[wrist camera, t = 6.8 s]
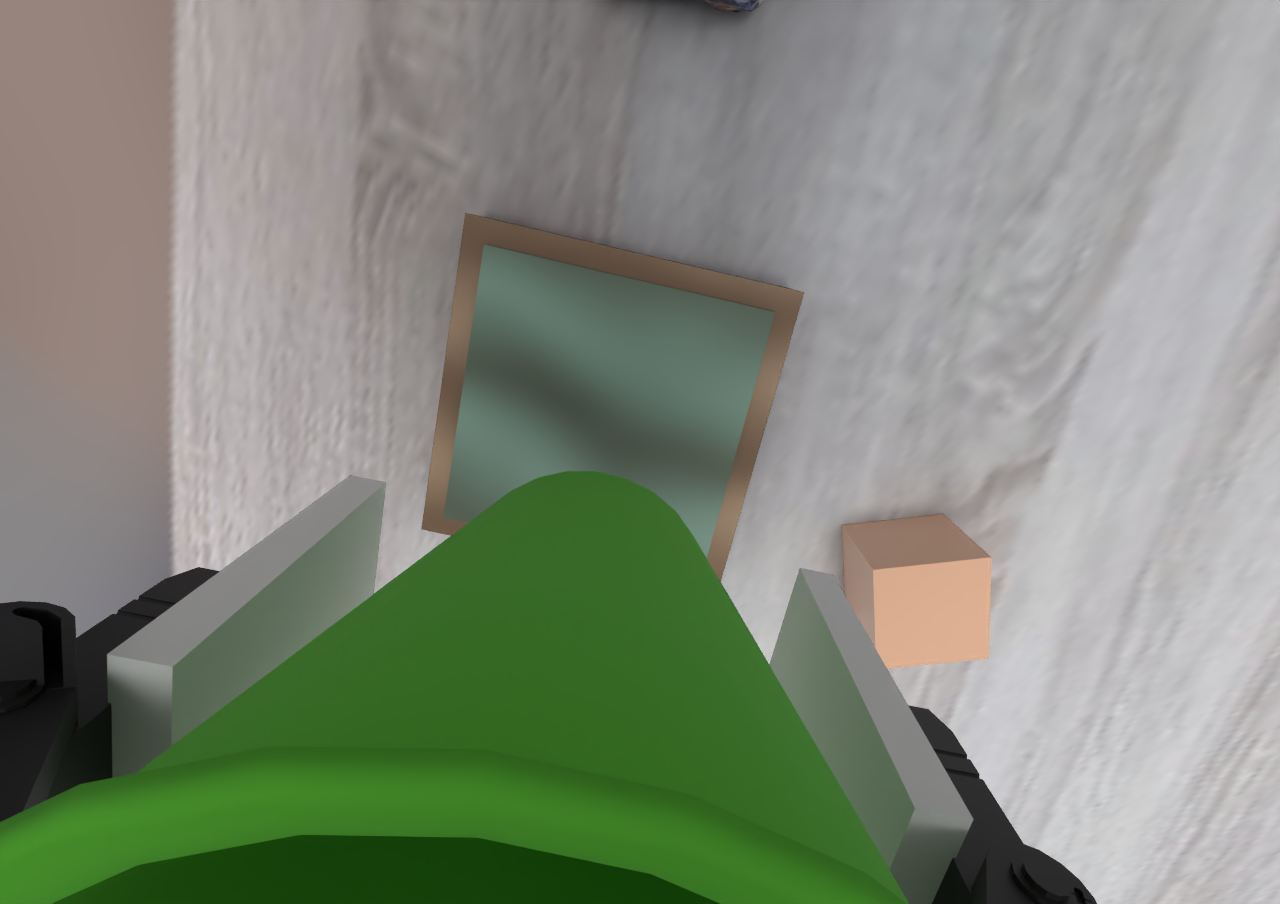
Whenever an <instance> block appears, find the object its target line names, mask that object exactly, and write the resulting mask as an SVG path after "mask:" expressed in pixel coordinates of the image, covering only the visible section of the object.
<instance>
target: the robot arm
mask: <svg viewBox="0 0 1280 904" xmlns="http://www.w3.org/2000/svg"><path fill="white" fill-rule="evenodd" d="M385 489H386V482H381V481H376V480H371V479H366V478H361V477H357V476H352V475H350V476H349V477H348V478H346V479H345V480H343V481H342V482H341V483H339V484H338V485H337V486H335V487H334V488H333V489H331V490H330V491H328V492H327V493H326V494H324V495H323V496H322V497H320V498H319V499H318V500H316V501H315V502H314V503H312V504H311V505H309V506H308V507H307V508H305V509H304V510H303V511H301V512H300V513H299V514H297V515H296V516H294V517H293V518H292V519H290V520H289V521H288V522H286V523H285V524H284V525H282V526H281V527H280V528H278V529H277V530H275V531H274V532H273V533H271V534H270V535H269V536H267V537H266V538H265V539H263V540H262V541H260V542H259V543H258V544H256V545H255V546H254V547H252V548H251V549H250V550H248V551H247V552H246V553H244V554H243V555H241V556H240V557H239V558H237V559H236V560H235V561H233V562H232V563H231V564H229V565H228V566H226V567H225V568H224V569H222V570H221V571H215V570H210V569H205V568H200V567H198V568H195V569H192V570H189V571H186V572H183V573H181V574H178V575H175V576H172V577H169V578H166V579H164V580H163V581H161V582H160V583H158V584H157V585H155V586H154V587H152V588H151V589H149V590H148V591H146V592H145V593H143V594H142V595H140V596H139V599H138V600H133V601H131V602H130V603H128V604H127V605H125V606H124V607H122V608H121V609H119V610H118V613H117V614H112V615H110V616H109V617H107V618H106V619H104V620H103V621H101V622H100V623H98V624H97V625H95V626H94V627H92V628H91V629H89V630H88V631H86V632H85V633H83V634H82V635H80V636H79V637H77V638H76V628H75V616H74V615H72V614H71V613H70V612H69V611H68V610H67V609H66V608H64V607H60V606H57V605H53V604H50V603H45V602H25V601H24V602H23V601H19V602H9V603H0V822H2V821H4V820H6V819H8V818H10V817H12V816H14V815H16V814H18V813H20V812H23V811H25V810H27V809H29V808H31V807H33V806H35V805H37V804H39V803H41V802H44V801H46V800H48V799H50V798H52V797H54V796H56V795H58V794H60V793H63V792H65V791H67V790H69V789H71V788H73V787H75V786H77V785H79V784H84V783H89V782H94V781H99V780H104V779H109V778H114V777H119V776H124V775H129V774H134V773H136V772H138V771H139V770H140V769H142V768H143V767H144V766H146V765H147V764H148V763H150V762H151V761H152V760H154V759H155V758H156V757H158V756H159V755H160V754H162V753H163V752H164V751H166V750H167V749H168V748H170V747H171V746H172V745H174V744H175V743H176V742H178V741H179V740H180V739H182V738H183V737H184V736H186V735H187V734H188V733H190V732H191V731H192V730H194V729H195V728H196V727H198V726H199V725H200V724H202V723H203V722H204V721H206V720H207V719H208V718H210V717H211V716H212V715H214V714H215V713H216V712H218V711H219V710H220V709H222V708H223V707H224V706H226V705H227V704H228V703H230V702H231V701H232V700H234V699H235V698H236V697H238V696H239V695H240V694H242V693H243V692H244V691H246V690H247V689H248V688H250V687H251V686H252V685H254V684H255V683H256V682H257V681H259V680H260V679H261V678H263V677H264V676H265V675H267V674H268V673H269V672H271V671H272V670H273V669H275V668H276V667H277V666H279V665H280V664H281V663H283V662H284V661H285V660H287V659H288V658H289V657H291V656H292V655H293V654H295V653H296V652H297V651H299V650H300V649H301V648H303V647H304V646H305V645H307V644H308V643H309V642H311V641H312V640H313V639H315V638H316V637H317V636H319V635H320V634H321V633H323V632H324V631H325V630H327V629H328V628H329V627H331V626H332V625H333V624H335V623H336V622H337V621H339V620H340V619H341V618H343V617H344V616H345V615H347V614H348V613H349V612H351V611H352V610H353V609H355V608H356V607H357V606H359V605H360V604H361V603H363V602H364V601H365V600H367V599H368V598H369V597H371V596H372V595H373V594H374V586H375V577H376V568H377V559H378V550H379V542H380V533H381V524H382V515H383V507H384V498H385ZM769 665H770V667H771V669H772V671H773V672H774V674H775V676H776V677H777V679H778V681H779V682H780V684H781V686H782V688H783V689H784V691H785V693H786V694H787V696H788V698H789V699H790V701H791V703H792V705H793V706H794V708H795V710H796V711H797V713H798V715H799V717H800V718H801V720H802V722H803V723H804V725H805V727H806V728H807V730H808V732H809V734H810V735H811V737H812V739H813V740H814V742H815V744H816V745H817V747H818V749H819V751H820V752H821V754H822V756H823V757H824V759H825V761H826V762H827V764H828V766H829V768H830V769H831V771H832V773H833V774H834V776H835V778H836V780H837V781H838V783H839V785H840V786H841V788H842V790H843V791H844V793H845V795H846V797H847V798H848V800H849V802H850V803H851V805H852V807H853V808H854V810H855V812H856V814H857V815H858V817H859V819H860V820H861V822H862V824H863V826H864V827H865V829H866V831H867V832H868V834H869V836H870V837H871V839H872V841H873V843H874V844H875V846H876V848H877V849H878V851H879V853H880V854H881V856H882V858H883V860H884V861H885V863H886V865H887V866H888V868H889V870H890V872H891V873H892V875H893V877H894V878H895V880H896V882H897V883H898V885H899V887H900V889H901V890H902V892H903V894H904V895H905V897H906V899H907V900H908V902H909V904H1097V903H1096V901H1095V899H1094V897H1093V896H1092V895H1091V894H1090V892H1089V891H1088V890H1087V889H1086V887H1085V886H1084V885H1083V883H1082V882H1081V881H1080V880H1079V879H1078V878H1077V877H1076V876H1074V875H1073V874H1072V873H1071V872H1070V871H1069V870H1068V869H1066V868H1065V867H1064V866H1063V865H1062V864H1061V863H1059V862H1058V861H1056V860H1054V859H1053V858H1051V857H1049V856H1048V855H1046V854H1045V853H1043V852H1041V851H1040V850H1038V849H1035V848H1032V847H1030V846H1027V845H1024V844H1023V842H1022V841H1021V839H1020V838H1019V836H1018V834H1017V833H1016V831H1015V830H1014V828H1013V827H1012V825H1011V823H1010V822H1009V820H1008V819H1007V817H1006V815H1005V814H1004V812H1003V811H1002V809H1001V808H1000V806H999V804H998V803H997V801H996V800H995V798H994V797H993V795H992V793H991V792H990V790H989V789H988V787H987V786H986V784H985V782H984V781H983V780H982V779H979V773H978V771H977V770H976V768H975V767H974V765H973V763H972V762H971V760H969V759H967V754H966V752H965V751H964V749H963V748H962V746H961V745H960V743H959V741H958V740H957V738H956V737H955V735H954V734H953V732H952V731H951V730H950V729H949V728H948V727H947V726H946V725H945V724H944V723H942V722H941V721H940V720H939V719H938V718H937V717H936V716H935V715H934V714H933V713H932V712H931V711H930V710H929V709H924V708H919V707H914V706H909V705H908V704H907V702H906V701H905V699H904V697H903V696H902V694H901V692H900V690H899V689H898V687H897V685H896V683H895V682H894V680H893V678H892V676H891V675H890V673H889V671H888V669H887V668H886V666H885V664H884V662H883V661H882V659H881V657H880V655H879V654H878V652H877V650H876V648H875V647H874V645H873V643H872V641H871V640H870V638H869V636H868V635H867V633H866V631H865V629H864V628H863V626H862V624H861V622H860V621H859V619H858V617H857V615H856V614H855V612H854V610H853V608H852V607H851V605H850V603H849V601H848V600H847V598H846V596H845V594H844V593H843V591H842V589H841V587H840V586H839V584H838V582H837V581H836V579H835V577H834V575H831V574H826V573H822V572H817V571H812V570H807V569H802V568H800V569H799V572H798V576H797V579H796V582H795V585H794V588H793V591H792V595H791V598H790V601H789V604H788V607H787V610H786V614H785V617H784V620H783V623H782V626H781V629H780V633H779V636H778V639H777V642H776V645H775V648H774V652H773V655H772V658H771V661H770V664H769Z"/></svg>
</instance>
